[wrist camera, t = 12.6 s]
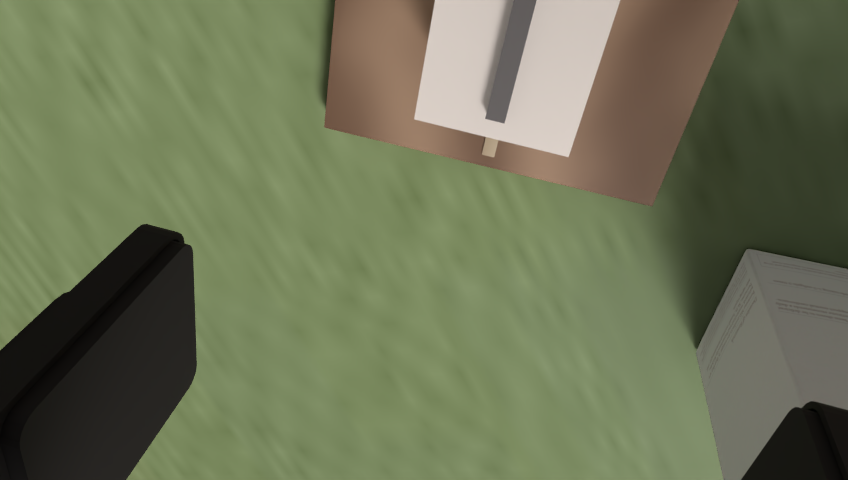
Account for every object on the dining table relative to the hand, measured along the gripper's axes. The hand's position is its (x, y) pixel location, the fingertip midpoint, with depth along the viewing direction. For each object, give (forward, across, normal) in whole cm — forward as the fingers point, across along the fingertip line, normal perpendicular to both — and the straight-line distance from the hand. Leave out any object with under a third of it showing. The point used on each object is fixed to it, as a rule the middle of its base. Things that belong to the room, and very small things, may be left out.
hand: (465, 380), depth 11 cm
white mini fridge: (+21, +1, -1) cm, 21 cm away
